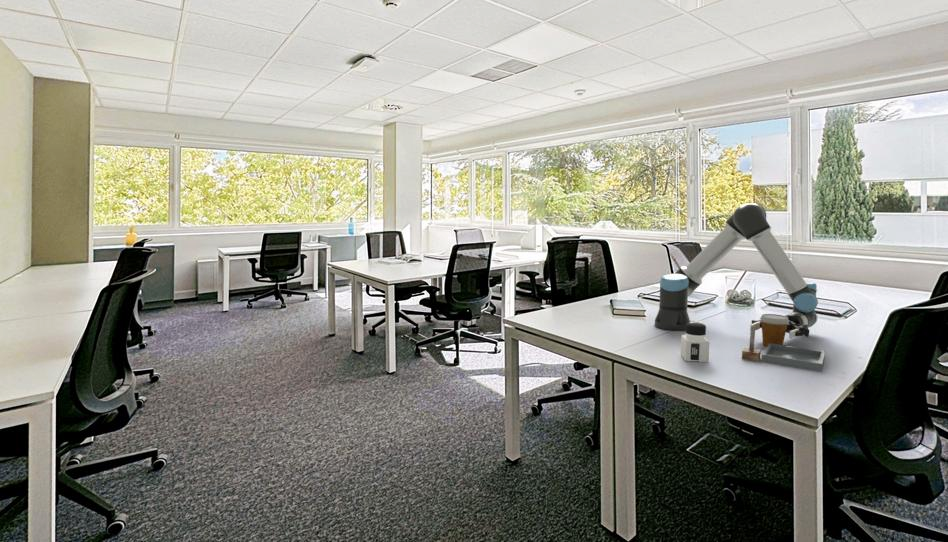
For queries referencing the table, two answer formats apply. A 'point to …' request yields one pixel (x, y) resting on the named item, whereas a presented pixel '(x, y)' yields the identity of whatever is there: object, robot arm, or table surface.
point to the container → (695, 343)
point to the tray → (794, 357)
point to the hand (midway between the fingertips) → (770, 331)
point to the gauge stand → (751, 348)
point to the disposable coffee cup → (773, 328)
